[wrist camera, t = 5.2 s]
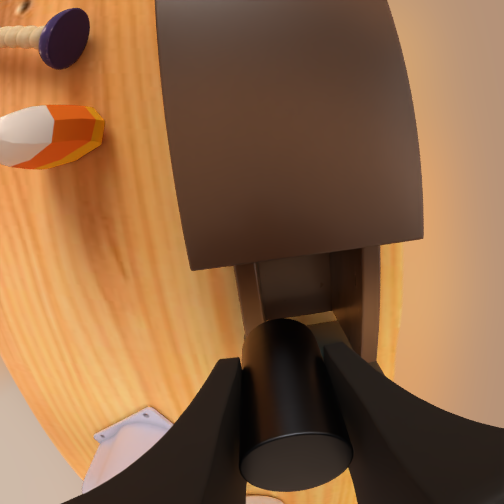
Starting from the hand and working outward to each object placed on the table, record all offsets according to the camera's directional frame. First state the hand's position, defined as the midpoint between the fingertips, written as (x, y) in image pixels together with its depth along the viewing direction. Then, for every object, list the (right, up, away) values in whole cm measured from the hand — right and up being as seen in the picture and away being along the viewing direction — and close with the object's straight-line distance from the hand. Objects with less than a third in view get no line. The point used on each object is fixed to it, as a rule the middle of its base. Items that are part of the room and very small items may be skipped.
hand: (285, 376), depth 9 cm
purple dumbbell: (-12, +17, +3) cm, 21 cm away
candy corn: (-12, +11, +8) cm, 18 cm away
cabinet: (0, +13, +7) cm, 14 cm away
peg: (0, 0, +1) cm, 1 cm away
